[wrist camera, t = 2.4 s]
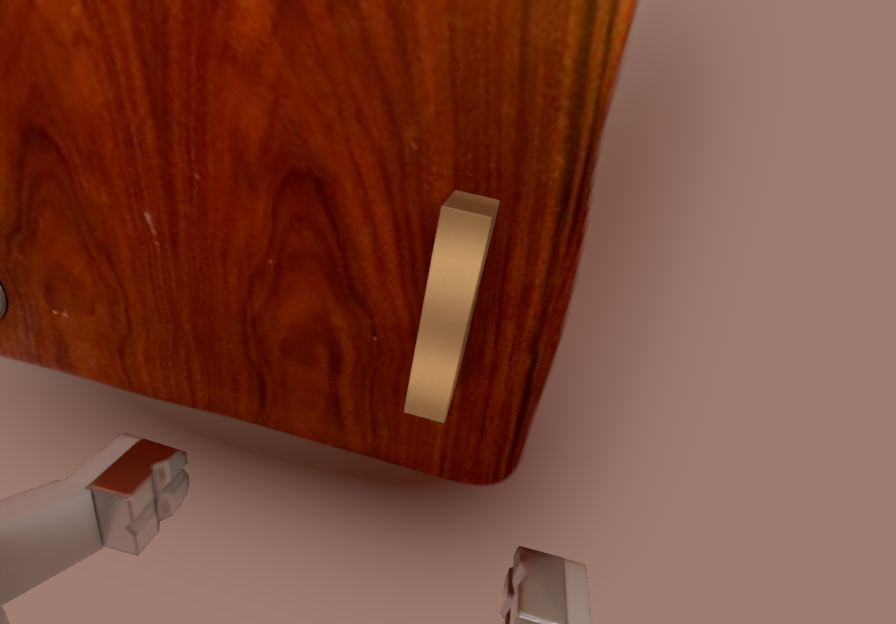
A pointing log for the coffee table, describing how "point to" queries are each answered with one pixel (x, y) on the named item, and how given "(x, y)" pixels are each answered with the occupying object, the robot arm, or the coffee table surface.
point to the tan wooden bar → (449, 302)
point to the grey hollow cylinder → (2, 302)
